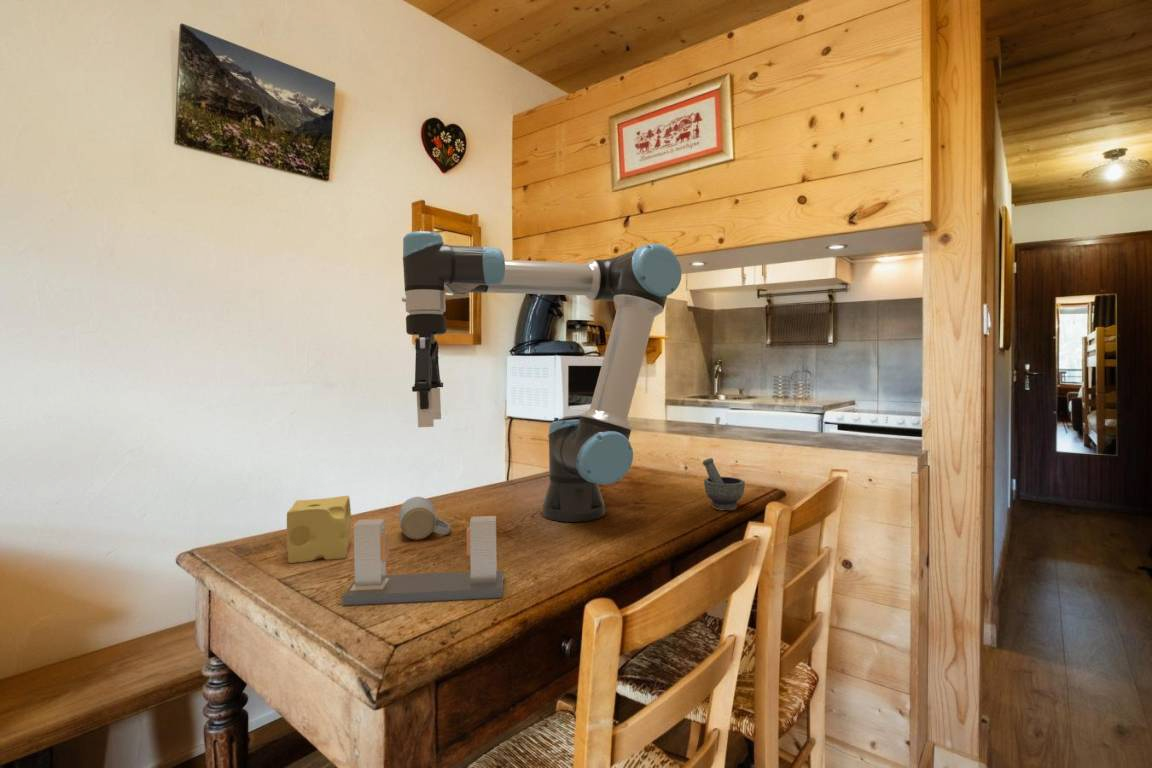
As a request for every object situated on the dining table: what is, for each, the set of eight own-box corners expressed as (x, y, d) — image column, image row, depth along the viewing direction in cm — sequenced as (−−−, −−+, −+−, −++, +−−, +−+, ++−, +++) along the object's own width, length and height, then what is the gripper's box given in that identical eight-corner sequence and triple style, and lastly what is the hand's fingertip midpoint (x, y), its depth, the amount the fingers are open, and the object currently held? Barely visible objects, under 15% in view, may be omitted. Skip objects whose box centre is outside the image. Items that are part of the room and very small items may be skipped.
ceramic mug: (400, 543, 116) (400, 506, 116) (398, 532, 124) (399, 497, 124) (452, 538, 120) (453, 502, 120) (448, 528, 128) (448, 494, 127)
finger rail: (503, 578, 97) (502, 511, 96) (502, 597, 89) (501, 524, 88) (357, 585, 94) (356, 516, 94) (342, 605, 86) (341, 530, 86)
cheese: (346, 559, 107) (345, 506, 107) (284, 565, 104) (282, 511, 104) (352, 542, 117) (351, 494, 117) (294, 547, 114) (293, 498, 114)
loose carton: (389, 579, 92) (388, 518, 92) (385, 587, 89) (383, 524, 89) (360, 581, 92) (359, 519, 92) (355, 588, 89) (353, 525, 89)
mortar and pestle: (751, 508, 143) (752, 460, 142) (729, 514, 137) (729, 465, 136) (714, 500, 151) (714, 455, 151) (692, 506, 145) (692, 459, 145)
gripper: (415, 319, 122) (419, 417, 123) (394, 308, 97) (399, 431, 98) (450, 318, 123) (454, 415, 124) (438, 307, 98) (443, 429, 99)
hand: (430, 423), depth 111 cm, fingers open, 13 cm apart
